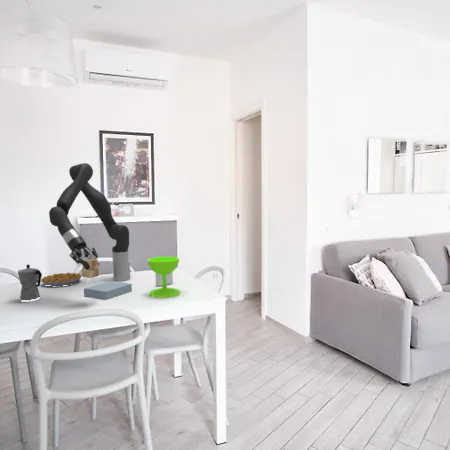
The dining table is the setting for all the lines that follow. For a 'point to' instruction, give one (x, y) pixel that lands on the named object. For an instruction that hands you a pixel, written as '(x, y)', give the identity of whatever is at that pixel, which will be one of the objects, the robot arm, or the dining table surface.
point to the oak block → (91, 269)
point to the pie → (61, 279)
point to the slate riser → (107, 290)
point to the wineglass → (164, 274)
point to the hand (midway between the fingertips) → (93, 267)
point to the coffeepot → (29, 283)
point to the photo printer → (168, 279)
